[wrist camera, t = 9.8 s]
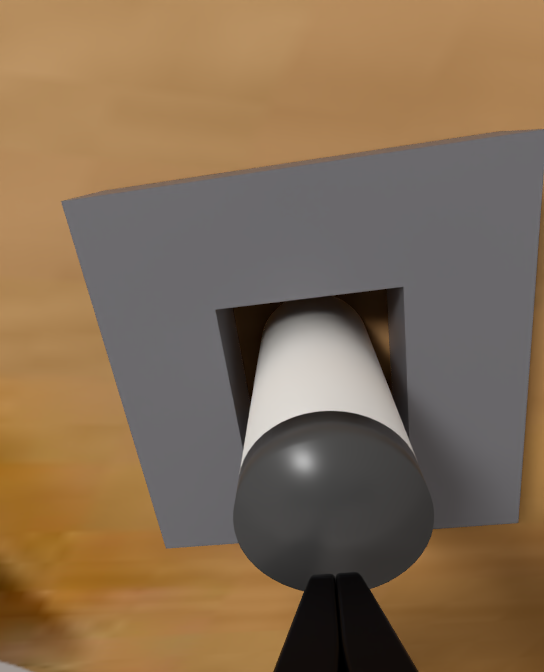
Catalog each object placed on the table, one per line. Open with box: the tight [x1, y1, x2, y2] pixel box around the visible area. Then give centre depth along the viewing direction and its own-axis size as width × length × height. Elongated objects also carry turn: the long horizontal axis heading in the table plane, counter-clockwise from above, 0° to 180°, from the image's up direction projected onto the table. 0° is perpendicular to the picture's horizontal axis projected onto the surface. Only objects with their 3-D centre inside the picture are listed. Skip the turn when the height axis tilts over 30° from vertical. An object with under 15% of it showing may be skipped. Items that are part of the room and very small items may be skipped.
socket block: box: [61, 129, 544, 548], centre depth 16 cm, size 13×13×3 cm
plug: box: [233, 296, 434, 591], centre depth 14 cm, size 4×4×9 cm
